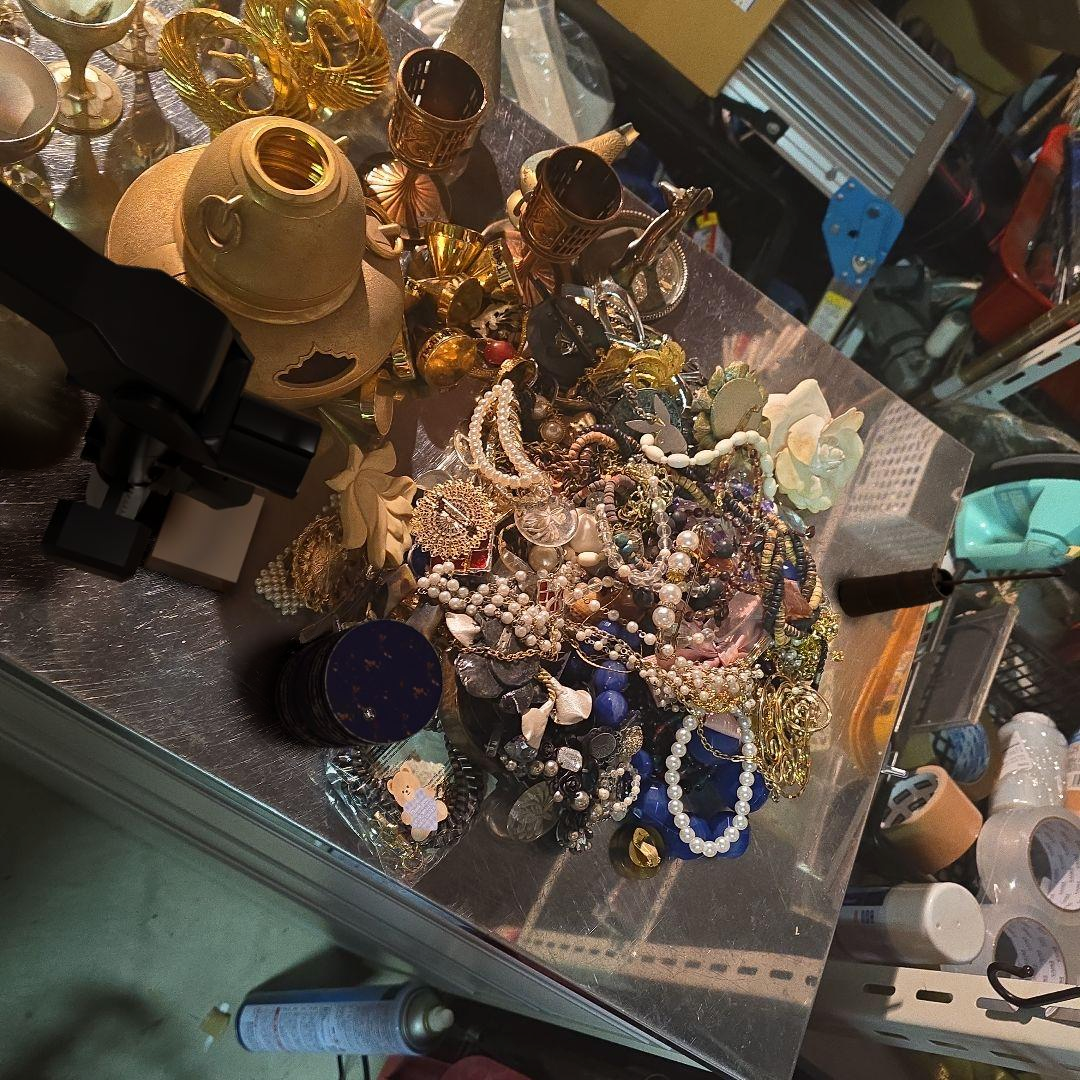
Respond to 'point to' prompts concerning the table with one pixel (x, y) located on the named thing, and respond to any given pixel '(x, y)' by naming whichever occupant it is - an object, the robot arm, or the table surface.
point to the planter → (100, 486)
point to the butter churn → (908, 589)
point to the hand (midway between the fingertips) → (120, 479)
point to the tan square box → (204, 541)
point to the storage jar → (361, 686)
